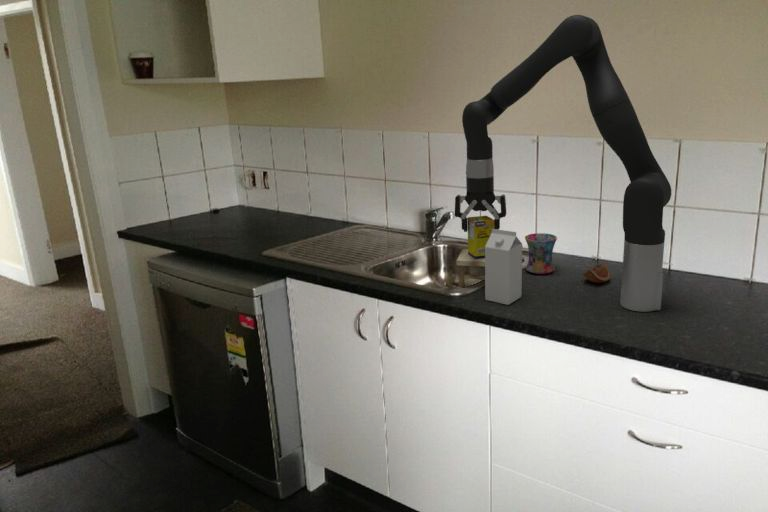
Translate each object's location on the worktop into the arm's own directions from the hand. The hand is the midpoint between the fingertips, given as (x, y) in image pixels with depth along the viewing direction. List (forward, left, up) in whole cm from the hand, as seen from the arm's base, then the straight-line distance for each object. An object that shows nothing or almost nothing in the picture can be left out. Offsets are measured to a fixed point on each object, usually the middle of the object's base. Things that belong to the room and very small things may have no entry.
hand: (480, 231), depth 182 cm
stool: (0, 0, -15) cm, 15 cm away
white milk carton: (-8, +13, -15) cm, 22 cm away
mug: (-17, -13, -15) cm, 26 cm away
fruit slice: (-32, -4, -15) cm, 36 cm away
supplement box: (0, 0, -7) cm, 7 cm away
